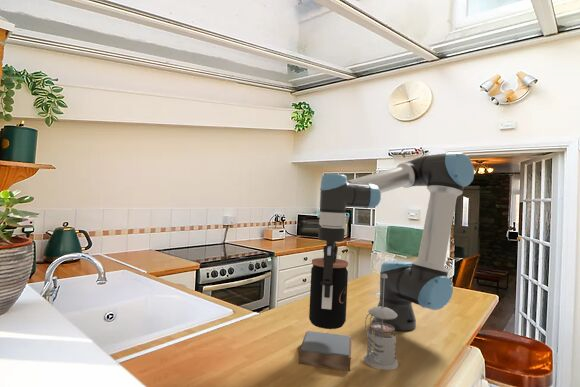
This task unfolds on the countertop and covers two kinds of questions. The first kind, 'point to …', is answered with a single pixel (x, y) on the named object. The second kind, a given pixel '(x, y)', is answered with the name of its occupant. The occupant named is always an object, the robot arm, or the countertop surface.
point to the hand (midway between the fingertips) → (328, 302)
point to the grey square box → (326, 350)
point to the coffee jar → (339, 295)
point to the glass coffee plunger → (381, 338)
